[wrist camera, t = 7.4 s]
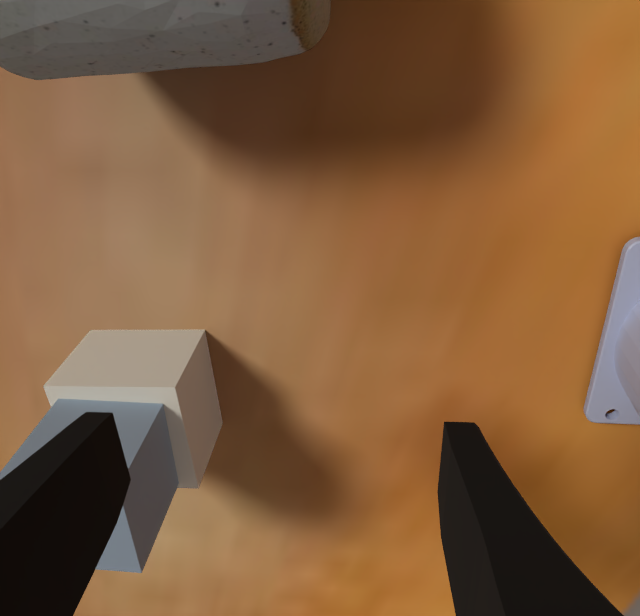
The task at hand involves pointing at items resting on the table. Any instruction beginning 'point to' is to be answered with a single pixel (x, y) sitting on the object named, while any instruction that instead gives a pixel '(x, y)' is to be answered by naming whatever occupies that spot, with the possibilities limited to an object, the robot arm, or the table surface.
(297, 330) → the table surface
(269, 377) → the table surface
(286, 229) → the table surface
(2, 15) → the ceramic mug
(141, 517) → the blue cube
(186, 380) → the cream block
